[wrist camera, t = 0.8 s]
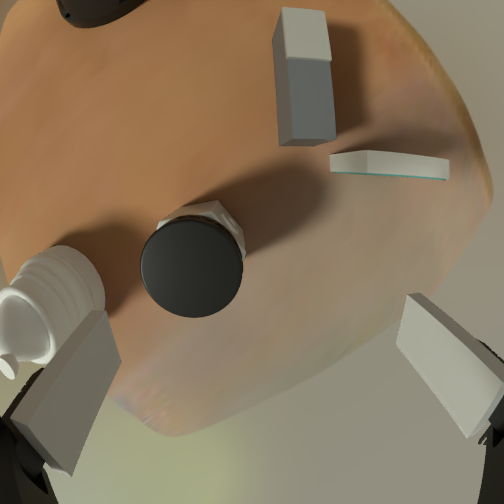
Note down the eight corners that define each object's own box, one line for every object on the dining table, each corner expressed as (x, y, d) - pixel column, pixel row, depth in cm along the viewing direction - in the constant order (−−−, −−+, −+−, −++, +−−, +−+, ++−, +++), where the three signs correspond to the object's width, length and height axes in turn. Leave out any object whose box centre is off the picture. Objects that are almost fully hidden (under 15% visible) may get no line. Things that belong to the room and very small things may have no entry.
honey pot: (115, 270, 33) (38, 348, 16) (96, 341, 36) (43, 425, 19) (43, 230, 31) (-49, 273, 14) (33, 302, 34) (-35, 363, 16)
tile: (329, 154, 31) (366, 150, 21) (399, 159, 31) (449, 159, 22) (330, 172, 31) (367, 174, 22) (399, 175, 32) (449, 180, 22)
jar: (256, 243, 33) (268, 282, 22) (204, 284, 34) (191, 338, 23) (207, 184, 31) (191, 191, 19) (155, 229, 32) (116, 260, 20)
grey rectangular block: (271, 40, 26) (282, 5, 18) (304, 41, 26) (324, 9, 18) (278, 146, 30) (293, 137, 22) (313, 146, 30) (338, 139, 22)
